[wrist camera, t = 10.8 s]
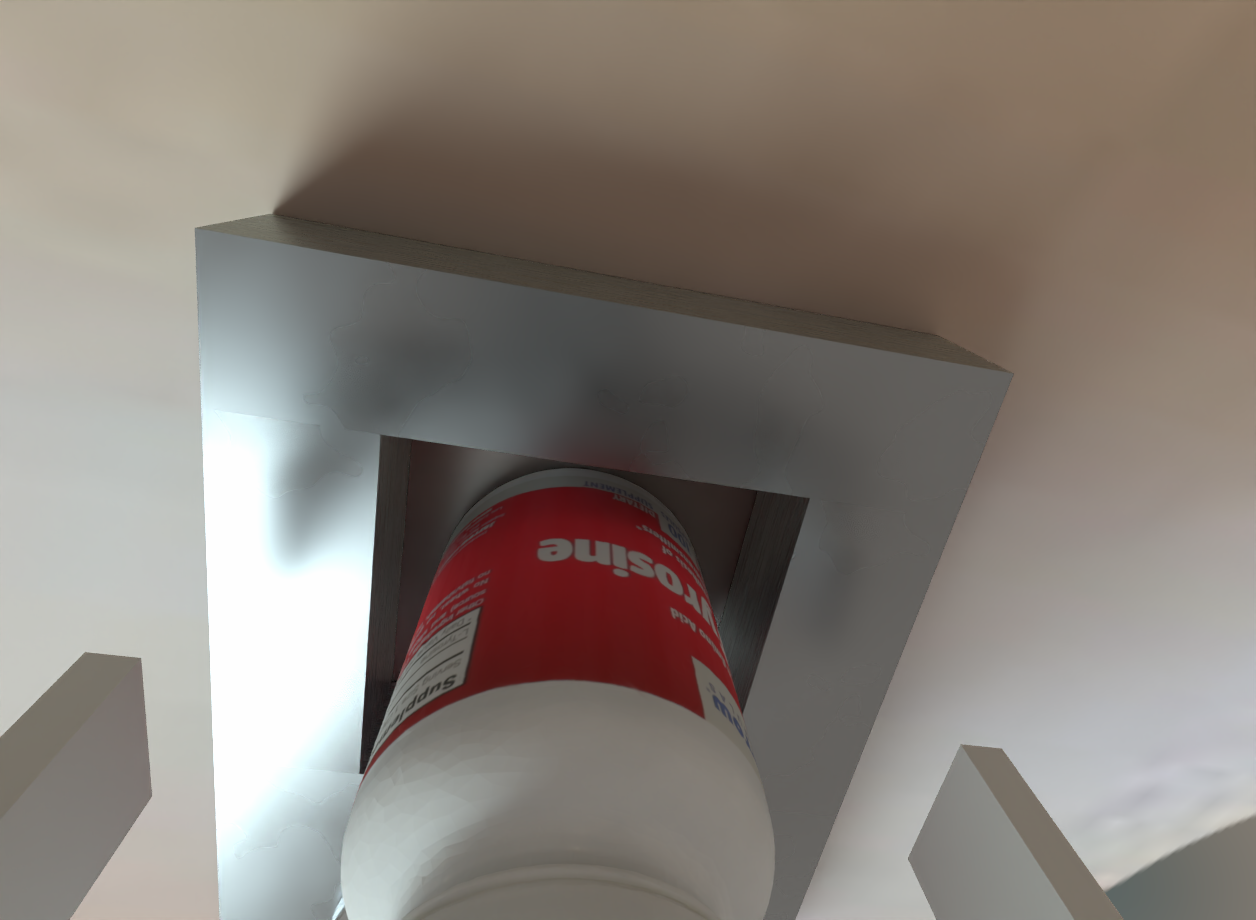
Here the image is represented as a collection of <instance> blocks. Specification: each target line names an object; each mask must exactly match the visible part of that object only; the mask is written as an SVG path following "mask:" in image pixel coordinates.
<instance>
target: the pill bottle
mask: <svg viewBox="0 0 1256 920" xmlns="http://www.w3.org/2000/svg"><path fill="white" fill-rule="evenodd" d="M774 871H775V844H774V834H773V828H772V823H771V818H770V814H769V810H768V806H767V801H766V796H765V792H764V788H763V785H762V781H761V778H760V774H759V771H758V767H757V764H756V761H755V757H754V754H753V751H752V747H751V744H750V740H749V737H748V733H747V730H746V726H745V722H744V719H743V715H742V712H741V708H740V705H739V701H738V697H737V694H736V691H735V687H734V683H733V680H732V676H731V673H730V669H729V665H728V660H727V657H726V655H725V651H724V647H723V644H722V640H721V637H720V634H719V631H718V627H717V624H716V620H715V617H714V614H713V610H712V607H711V603H710V599H709V596H708V593H707V590H706V586H705V583H704V580H703V576H702V572H701V569H700V565H699V562H698V559H697V556H696V554H695V551H694V549H693V546H692V544H691V541H690V539H689V537H688V535H687V534H686V532H685V530H684V528H683V527H682V525H681V524H680V523H679V521H678V520H677V518H676V517H675V516H674V515H673V513H672V512H671V511H670V510H669V509H668V508H667V507H666V506H665V505H664V504H663V503H661V502H660V501H659V500H658V499H657V498H655V497H654V496H653V495H651V494H650V493H649V492H647V491H646V490H644V489H643V488H641V487H639V486H637V485H635V484H633V483H631V482H629V481H627V480H625V479H622V478H620V477H617V476H614V475H611V474H608V473H603V472H599V471H594V470H589V469H579V468H562V469H552V470H545V471H540V472H535V473H532V474H528V475H525V476H522V477H520V478H517V479H514V480H512V481H510V482H508V483H506V484H504V485H502V486H500V487H498V488H497V489H495V490H494V491H492V492H491V493H489V494H488V495H486V496H485V497H484V498H482V499H481V500H480V501H479V502H478V503H477V504H476V505H475V506H473V507H472V508H471V509H470V510H469V511H468V513H467V514H466V515H465V516H464V517H463V519H462V520H461V521H460V523H459V524H458V525H457V527H456V529H455V530H454V532H453V534H452V535H451V537H450V539H449V542H448V544H447V546H446V548H445V550H444V553H443V555H442V558H441V560H440V563H439V565H438V568H437V571H436V574H435V576H434V579H433V582H432V584H431V587H430V590H429V593H428V595H427V598H426V601H425V604H424V607H423V610H422V613H421V616H420V619H419V621H418V624H417V627H416V630H415V633H414V635H413V638H412V641H411V644H410V647H409V649H408V652H407V655H406V658H405V661H404V664H403V666H402V669H401V672H400V674H399V678H398V680H397V683H396V687H395V689H394V692H393V694H392V697H391V700H390V704H389V706H388V708H387V711H386V714H385V717H384V720H383V723H382V726H381V728H380V731H379V734H378V736H377V739H376V741H375V744H374V748H373V750H372V753H371V756H370V759H369V762H368V764H367V767H366V770H365V773H364V776H363V779H362V781H361V783H360V786H359V789H358V792H357V795H356V798H355V801H354V804H353V807H352V811H351V815H350V818H349V821H348V824H347V827H346V831H345V835H344V839H343V846H342V854H341V886H342V896H343V900H344V905H345V909H346V913H347V916H348V919H349V920H763V918H764V915H765V913H766V910H767V907H768V904H769V900H770V896H771V891H772V886H773V880H774Z"/></svg>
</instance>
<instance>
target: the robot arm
mask: <svg viewBox="0 0 1256 920" xmlns="http://www.w3.org/2000/svg"><path fill="white" fill-rule="evenodd" d="M151 797H152V789H151V777H150V764H149V751H148V739H147V726H146V714H145V701H144V689H143V676H142V663H141V658H135V657H125V656H116V655H106V654H97V653H87V652H85V653H84V654H83V655H82V656H81V657H80V658H79V659H78V660H77V661H76V662H75V663H74V664H73V665H72V666H71V667H70V668H69V669H68V670H67V671H66V672H65V673H64V674H63V675H62V676H61V677H60V678H59V679H58V680H57V681H56V682H55V683H54V684H53V685H52V686H51V687H50V688H49V689H48V690H47V691H46V692H45V693H44V694H43V695H42V696H41V697H40V698H39V699H38V700H37V701H36V702H35V703H34V704H33V705H32V706H31V707H30V708H29V709H28V710H27V711H26V712H25V713H24V714H23V715H22V716H21V717H20V718H19V719H18V720H17V721H16V722H15V723H14V724H13V725H12V726H11V727H10V728H9V729H8V730H7V731H6V732H5V733H4V734H3V735H2V736H1V737H0V920H70V918H71V917H72V915H73V914H74V912H75V911H76V909H77V908H78V906H79V905H80V903H81V902H82V900H83V899H84V897H85V896H86V894H87V893H88V891H89V890H90V888H91V887H92V885H93V884H94V882H95V881H96V879H97V878H98V876H99V875H100V873H101V872H102V870H103V869H104V867H105V866H106V864H107V863H108V861H109V860H110V858H111V857H112V855H113V854H114V852H115V851H116V849H117V848H118V846H119V845H120V843H121V842H122V840H123V839H124V837H125V836H126V834H127V833H128V831H129V830H130V828H131V827H132V825H133V824H134V822H135V821H136V819H137V818H138V816H139V815H140V813H141V812H142V810H143V809H144V807H145V806H146V804H147V803H148V801H149V800H150V798H151ZM908 860H909V862H910V864H911V866H912V868H913V870H914V873H915V875H916V877H917V879H918V881H919V883H920V885H921V888H922V890H923V892H924V894H925V896H926V898H927V900H928V902H929V905H930V907H931V909H932V911H933V913H934V915H935V917H936V920H1124V919H1123V918H1122V917H1121V915H1120V914H1119V912H1118V911H1117V910H1116V908H1115V907H1114V905H1113V904H1112V903H1111V901H1110V900H1109V898H1108V897H1107V896H1106V894H1105V893H1104V891H1103V890H1102V888H1101V887H1100V886H1099V884H1098V883H1097V881H1096V880H1095V879H1094V877H1093V876H1092V874H1091V873H1090V872H1089V870H1088V869H1087V867H1086V866H1085V865H1084V863H1083V862H1082V860H1081V859H1080V858H1079V856H1078V855H1077V853H1076V852H1075V851H1074V849H1073V848H1072V846H1071V845H1070V844H1069V842H1068V841H1067V839H1066V838H1065V837H1064V835H1063V834H1062V832H1061V831H1060V830H1059V828H1058V827H1057V825H1056V824H1055V823H1054V821H1053V820H1052V818H1051V817H1050V816H1049V814H1048V813H1047V811H1046V810H1045V809H1044V807H1043V806H1042V804H1041V803H1040V801H1039V800H1038V799H1037V797H1036V796H1035V794H1034V793H1033V792H1032V790H1031V789H1030V787H1029V786H1028V785H1027V783H1026V782H1025V780H1024V779H1023V778H1022V776H1021V775H1020V773H1019V772H1018V771H1017V769H1016V768H1015V766H1014V765H1013V764H1012V762H1011V761H1010V759H1009V758H1008V757H1007V755H1006V754H1005V752H1004V751H1003V750H1002V749H1000V748H990V747H981V746H971V745H962V744H961V745H960V747H959V750H958V752H957V754H956V756H955V758H954V760H953V762H952V765H951V767H950V769H949V771H948V773H947V775H946V778H945V780H944V782H943V784H942V786H941V788H940V790H939V793H938V795H937V797H936V799H935V801H934V803H933V805H932V808H931V810H930V812H929V814H928V816H927V818H926V821H925V823H924V825H923V827H922V829H921V831H920V833H919V836H918V838H917V840H916V842H915V844H914V846H913V849H912V851H911V853H910V855H909V857H908Z"/></svg>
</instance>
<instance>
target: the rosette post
mask: <svg viewBox="0 0 1256 920" xmlns="http://www.w3.org/2000/svg"><path fill="white" fill-rule="evenodd" d="M195 245H196V273H197V301H198V329H199V356H200V384H201V412H202V440H203V468H204V496H205V524H206V552H207V580H208V608H209V636H210V664H211V692H212V720H213V748H214V776H215V803H216V831H217V859H218V887H219V915H220V920H349V919H348V916H347V913H346V909H345V905H344V900H343V896H342V886H341V854H342V846H343V839H344V835H345V831H346V827H347V824H348V821H349V818H350V815H351V811H352V807H353V804H354V801H355V798H356V795H357V792H358V789H359V786H360V783H361V781H362V779H363V776H364V773H365V770H366V767H367V764H368V762H369V759H370V756H371V753H372V750H373V748H374V744H375V741H376V739H377V736H378V734H379V731H380V728H381V726H382V723H383V720H384V717H385V714H386V711H387V708H388V706H389V704H390V700H391V697H392V694H393V692H394V689H395V687H396V683H397V682H392V677H393V665H394V652H395V640H396V627H397V615H398V602H399V590H400V578H401V565H402V553H403V540H404V528H405V515H406V503H407V491H408V478H409V466H410V453H411V441H412V439H414V440H420V441H427V442H434V443H441V444H447V445H454V446H461V447H468V448H475V449H481V450H488V451H495V452H502V453H508V454H515V455H522V456H529V457H535V458H542V459H549V460H556V461H562V462H569V463H576V464H583V465H589V466H596V467H603V468H610V469H616V470H623V471H630V472H637V473H643V474H650V475H657V476H664V477H670V478H677V479H684V480H691V481H697V482H704V483H711V484H718V485H724V486H731V487H738V488H745V489H751V490H758V492H757V495H756V499H755V503H754V506H753V510H752V513H751V517H750V520H749V524H748V527H747V531H746V535H745V538H744V542H743V545H742V549H741V552H740V556H739V559H738V563H737V567H736V570H735V574H734V577H733V581H732V584H731V588H730V592H729V595H728V599H727V602H726V606H725V609H724V613H723V616H722V620H721V624H720V627H719V634H720V637H721V640H722V644H723V647H724V651H725V655H726V657H727V660H728V665H729V669H730V673H731V676H732V680H733V683H734V687H735V691H736V694H737V697H738V701H739V705H740V708H741V712H742V715H743V719H744V722H745V726H746V730H747V733H748V737H749V740H750V744H751V747H752V751H753V754H754V757H755V761H756V764H757V767H758V771H759V774H760V778H761V781H762V785H763V788H764V792H765V796H766V801H767V806H768V810H769V814H770V818H771V823H772V828H773V834H774V844H775V871H774V880H773V886H772V891H771V896H770V900H769V904H768V907H767V910H766V913H765V915H764V918H763V920H795V919H796V916H797V914H798V911H799V909H800V906H801V904H802V901H803V899H804V896H805V894H806V891H807V889H808V886H809V884H810V881H811V879H812V876H813V874H814V871H815V869H816V866H817V864H818V861H819V859H820V856H821V854H822V851H823V849H824V846H825V844H826V841H827V839H828V836H829V834H830V831H831V829H832V826H833V824H834V821H835V819H836V816H837V814H838V811H839V809H840V806H841V804H842V801H843V799H844V796H845V794H846V791H847V789H848V786H849V784H850V781H851V779H852V776H853V774H854V771H855V769H856V766H857V764H858V761H859V759H860V756H861V754H862V751H863V749H864V746H865V744H866V741H867V739H868V736H869V734H870V731H871V729H872V726H873V724H874V721H875V719H876V716H877V714H878V711H879V709H880V706H881V704H882V701H883V699H884V696H885V694H886V691H887V689H888V686H889V684H890V682H891V679H892V677H893V674H894V672H895V669H896V667H897V664H898V662H899V659H900V657H901V654H902V652H903V649H904V647H905V644H906V642H907V639H908V637H909V634H910V632H911V629H912V627H913V624H914V622H915V619H916V617H917V614H918V612H919V609H920V607H921V604H922V602H923V599H924V597H925V594H926V592H927V589H928V587H929V584H930V582H931V579H932V577H933V574H934V572H935V569H936V567H937V564H938V562H939V559H940V557H941V554H942V552H943V549H944V547H945V544H946V542H947V539H948V537H949V534H950V532H951V529H952V527H953V524H954V522H955V519H956V517H957V514H958V512H959V509H960V507H961V504H962V502H963V499H964V497H965V494H966V492H967V489H968V487H969V484H970V482H971V479H972V477H973V474H974V472H975V469H976V467H977V464H978V462H979V459H980V457H981V454H982V452H983V449H984V447H985V444H986V442H987V439H988V437H989V434H990V432H991V429H992V427H993V424H994V422H995V419H996V417H997V414H998V412H999V409H1000V407H1001V404H1002V402H1003V399H1004V397H1005V394H1006V392H1007V389H1008V387H1009V384H1010V382H1011V379H1012V377H1013V373H1011V372H1009V371H1007V370H1005V369H1003V368H1001V367H999V366H997V365H995V364H993V363H991V362H989V361H987V360H985V359H983V358H982V357H980V356H978V355H976V354H974V353H972V352H970V351H968V350H966V349H964V348H962V347H960V346H958V345H956V344H954V343H952V342H950V341H948V340H946V339H944V338H942V337H940V336H937V335H931V334H926V333H920V332H915V331H909V330H904V329H898V328H893V327H888V326H882V325H877V324H871V323H866V322H860V321H855V320H849V319H844V318H838V317H833V316H827V315H822V314H816V313H811V312H805V311H800V310H794V309H789V308H784V307H778V306H773V305H767V304H762V303H756V302H751V301H745V300H740V299H734V298H729V297H723V296H718V295H712V294H707V293H701V292H696V291H690V290H685V289H680V288H674V287H669V286H663V285H658V284H652V283H647V282H641V281H636V280H630V279H625V278H619V277H614V276H608V275H603V274H597V273H592V272H586V271H581V270H576V269H570V268H565V267H559V266H554V265H548V264H543V263H537V262H532V261H526V260H521V259H515V258H510V257H504V256H499V255H493V254H488V253H482V252H477V251H472V250H466V249H461V248H455V247H450V246H444V245H439V244H433V243H428V242H422V241H417V240H411V239H406V238H400V237H395V236H389V235H384V234H378V233H373V232H368V231H362V230H357V229H351V228H346V227H340V226H335V225H329V224H324V223H318V222H313V221H307V220H302V219H296V218H291V217H285V216H280V215H274V214H267V215H261V216H256V217H251V218H245V219H240V220H234V221H229V222H224V223H218V224H213V225H208V226H202V227H197V228H195Z"/></svg>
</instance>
